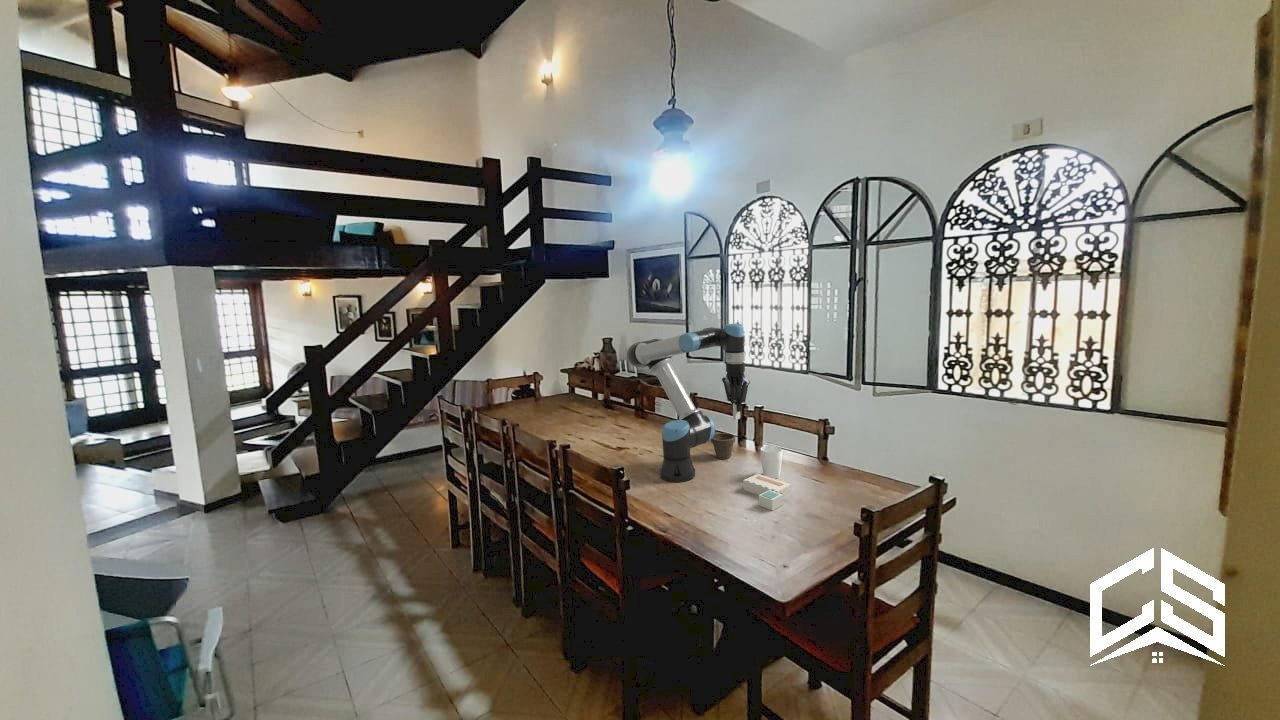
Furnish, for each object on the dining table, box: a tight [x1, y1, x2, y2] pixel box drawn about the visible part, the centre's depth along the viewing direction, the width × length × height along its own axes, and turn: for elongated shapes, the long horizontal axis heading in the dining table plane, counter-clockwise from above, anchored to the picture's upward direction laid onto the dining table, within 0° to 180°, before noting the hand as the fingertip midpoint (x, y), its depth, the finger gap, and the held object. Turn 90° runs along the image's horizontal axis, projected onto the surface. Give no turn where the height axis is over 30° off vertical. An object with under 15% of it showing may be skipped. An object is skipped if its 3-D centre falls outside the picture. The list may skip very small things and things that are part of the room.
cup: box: [759, 445, 783, 480], centre depth 220 cm, size 9×9×12 cm
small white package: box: [743, 473, 792, 499], centre depth 206 cm, size 16×9×4 cm, turn 40°
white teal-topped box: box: [758, 489, 785, 511], centre depth 195 cm, size 6×7×4 cm
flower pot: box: [710, 432, 736, 460], centre depth 246 cm, size 12×11×10 cm
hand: (736, 418), depth 215 cm, fingers closed
